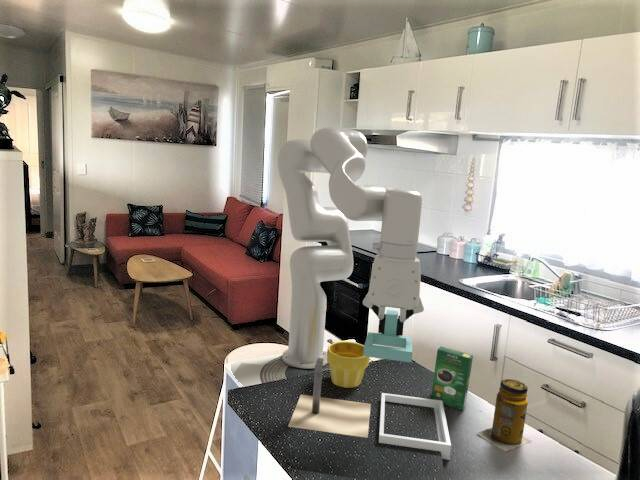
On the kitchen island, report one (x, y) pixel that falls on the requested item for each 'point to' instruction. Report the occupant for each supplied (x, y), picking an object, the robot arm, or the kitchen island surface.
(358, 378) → the plant pot
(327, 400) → the board
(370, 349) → the teal frame with handle
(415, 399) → the white rectangular frame
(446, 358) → the coffee box
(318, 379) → the stake
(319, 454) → the kitchen island surface
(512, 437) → the condiment
